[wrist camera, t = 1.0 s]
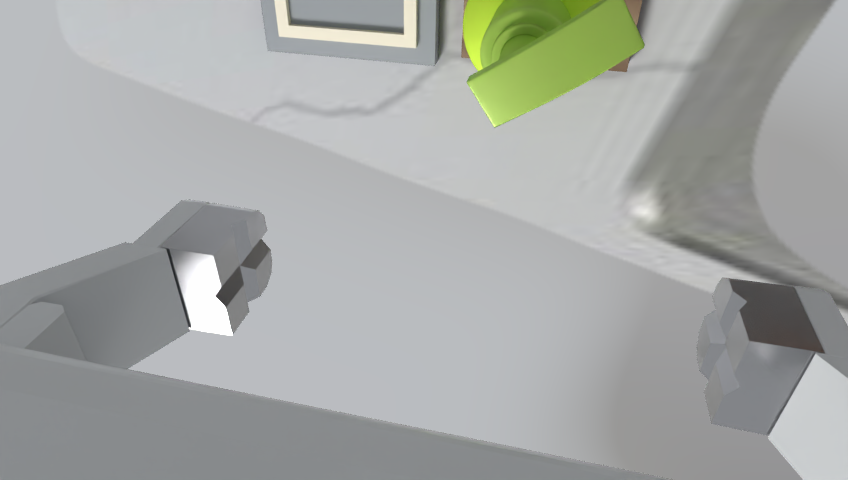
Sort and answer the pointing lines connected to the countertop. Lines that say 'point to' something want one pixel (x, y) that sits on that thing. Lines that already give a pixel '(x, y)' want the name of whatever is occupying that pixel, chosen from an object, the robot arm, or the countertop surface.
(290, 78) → the countertop surface
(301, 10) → the slate board
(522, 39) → the soap dispenser
